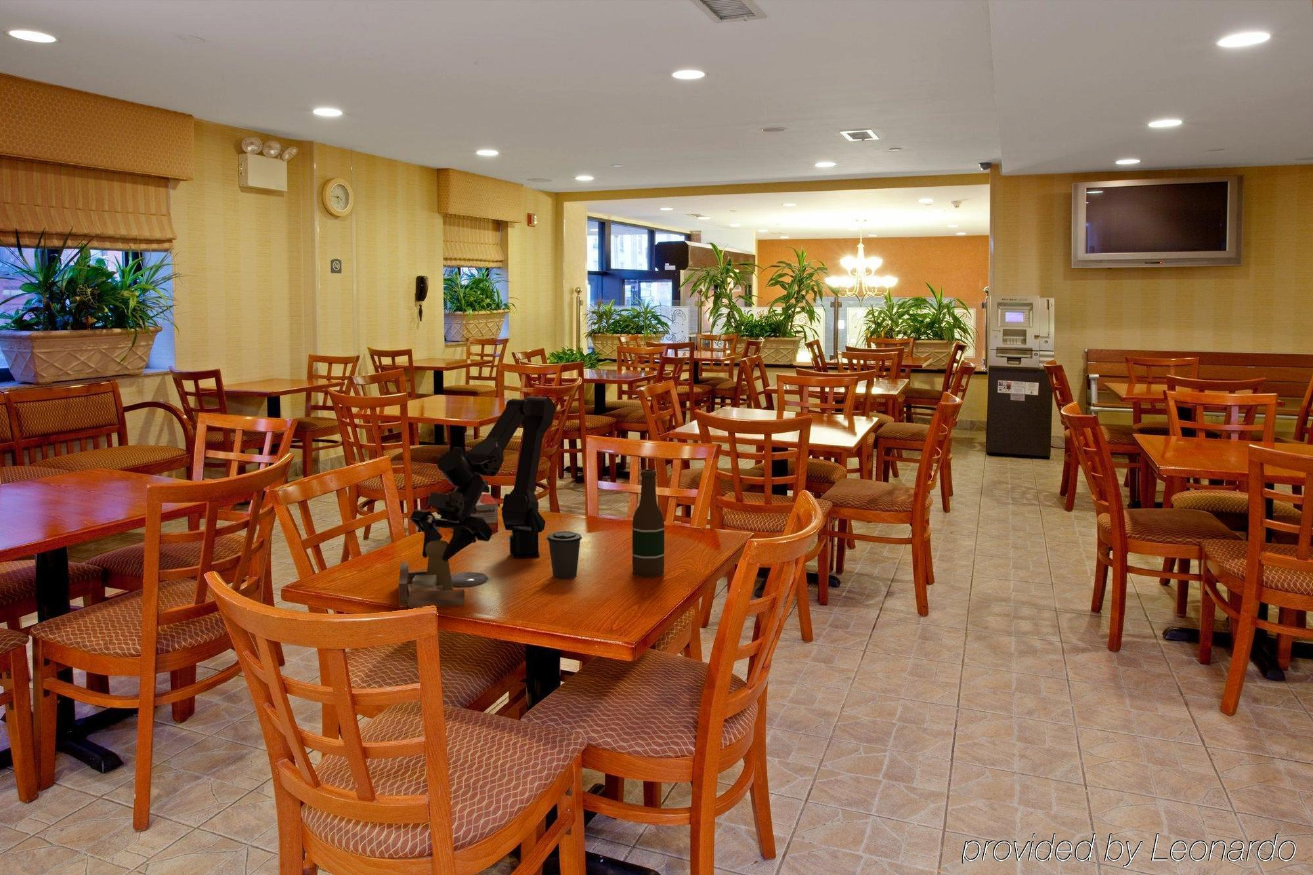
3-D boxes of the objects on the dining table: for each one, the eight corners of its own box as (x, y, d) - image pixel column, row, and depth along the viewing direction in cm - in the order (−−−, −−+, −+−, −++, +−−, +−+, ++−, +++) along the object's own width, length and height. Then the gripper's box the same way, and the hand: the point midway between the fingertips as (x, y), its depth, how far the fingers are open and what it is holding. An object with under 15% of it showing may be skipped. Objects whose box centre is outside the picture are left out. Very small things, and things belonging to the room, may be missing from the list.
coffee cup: (554, 582, 213) (554, 539, 211) (541, 573, 220) (541, 531, 218) (588, 578, 216) (588, 534, 215) (574, 569, 224) (574, 527, 222)
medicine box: (461, 522, 270) (460, 494, 269) (489, 520, 273) (489, 492, 272) (469, 534, 256) (468, 505, 255) (499, 532, 259) (498, 503, 257)
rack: (461, 580, 214) (461, 558, 213) (464, 605, 197) (464, 580, 196) (401, 584, 211) (400, 561, 210) (399, 609, 194) (398, 584, 193)
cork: (427, 587, 209) (425, 538, 208) (455, 586, 210) (453, 537, 208) (422, 595, 203) (421, 545, 202) (451, 595, 204) (450, 544, 202)
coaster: (486, 572, 220) (486, 570, 220) (489, 585, 211) (489, 583, 211) (442, 575, 218) (442, 573, 218) (442, 588, 208) (442, 586, 208)
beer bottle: (669, 570, 223) (670, 468, 219) (658, 579, 216) (659, 474, 212) (638, 566, 225) (638, 466, 222) (626, 575, 218) (626, 472, 215)
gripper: (413, 473, 210) (380, 533, 202) (482, 480, 202) (451, 543, 194) (438, 501, 219) (407, 560, 210) (505, 510, 210) (475, 571, 202)
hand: (433, 558), depth 204 cm, fingers closed on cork, 5 cm apart
